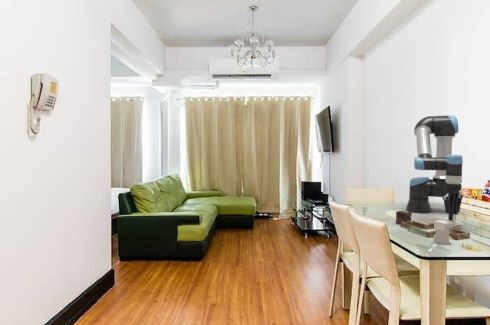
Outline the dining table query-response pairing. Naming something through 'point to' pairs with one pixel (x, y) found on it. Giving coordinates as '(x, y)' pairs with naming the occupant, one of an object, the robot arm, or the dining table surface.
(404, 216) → the box
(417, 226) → the trap channel
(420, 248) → the dining table surface
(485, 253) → the dining table surface
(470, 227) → the dining table surface
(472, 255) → the dining table surface
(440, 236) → the grey square block
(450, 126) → the robot arm
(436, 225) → the block
